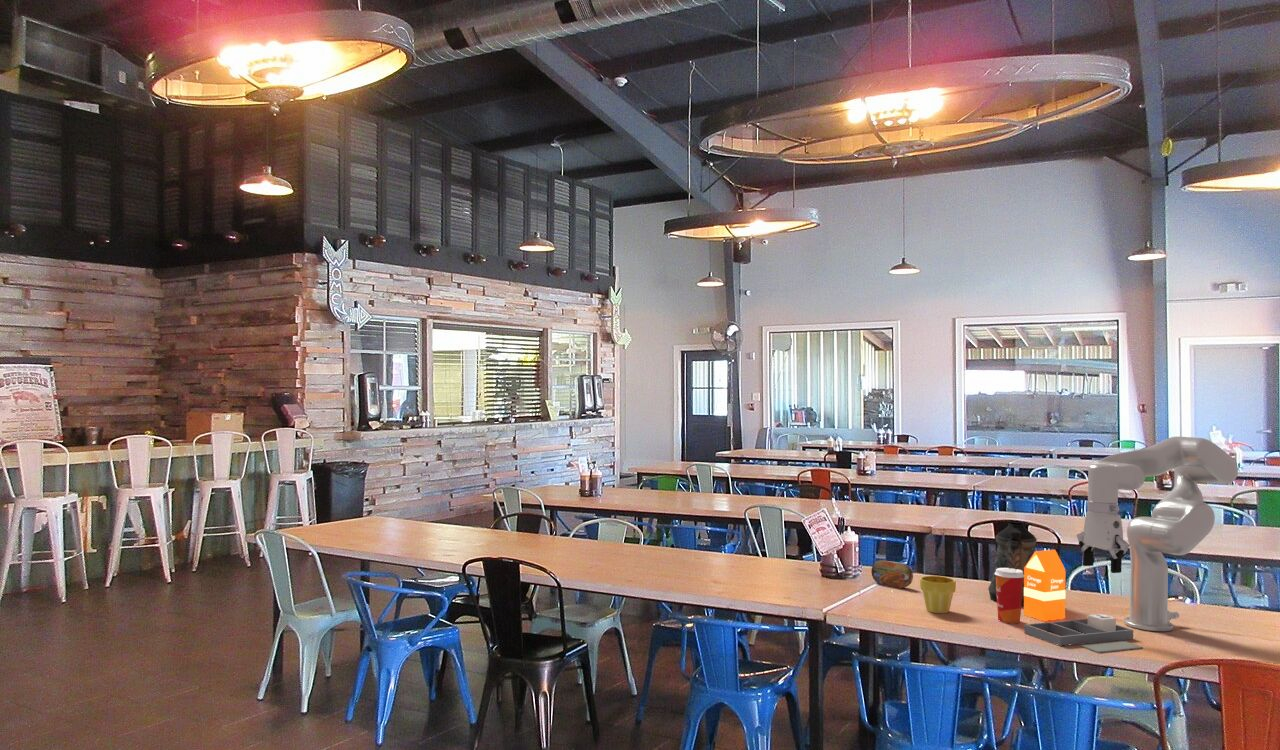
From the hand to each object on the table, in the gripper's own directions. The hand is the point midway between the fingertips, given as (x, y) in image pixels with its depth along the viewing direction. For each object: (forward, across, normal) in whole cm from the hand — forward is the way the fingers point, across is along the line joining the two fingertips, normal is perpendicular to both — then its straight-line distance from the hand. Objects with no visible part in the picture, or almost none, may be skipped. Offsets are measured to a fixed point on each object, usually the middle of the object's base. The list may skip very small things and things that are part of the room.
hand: (1101, 569), depth 256 cm
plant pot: (+18, +35, +29) cm, 49 cm away
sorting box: (+18, 0, +8) cm, 20 cm away
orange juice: (+18, +20, +2) cm, 27 cm away
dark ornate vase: (+18, +38, -4) cm, 42 cm away
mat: (+18, -11, +8) cm, 23 cm away
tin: (+18, +69, +22) cm, 74 cm away
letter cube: (+18, 0, 0) cm, 18 cm away
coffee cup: (+18, +19, +16) cm, 31 cm away
